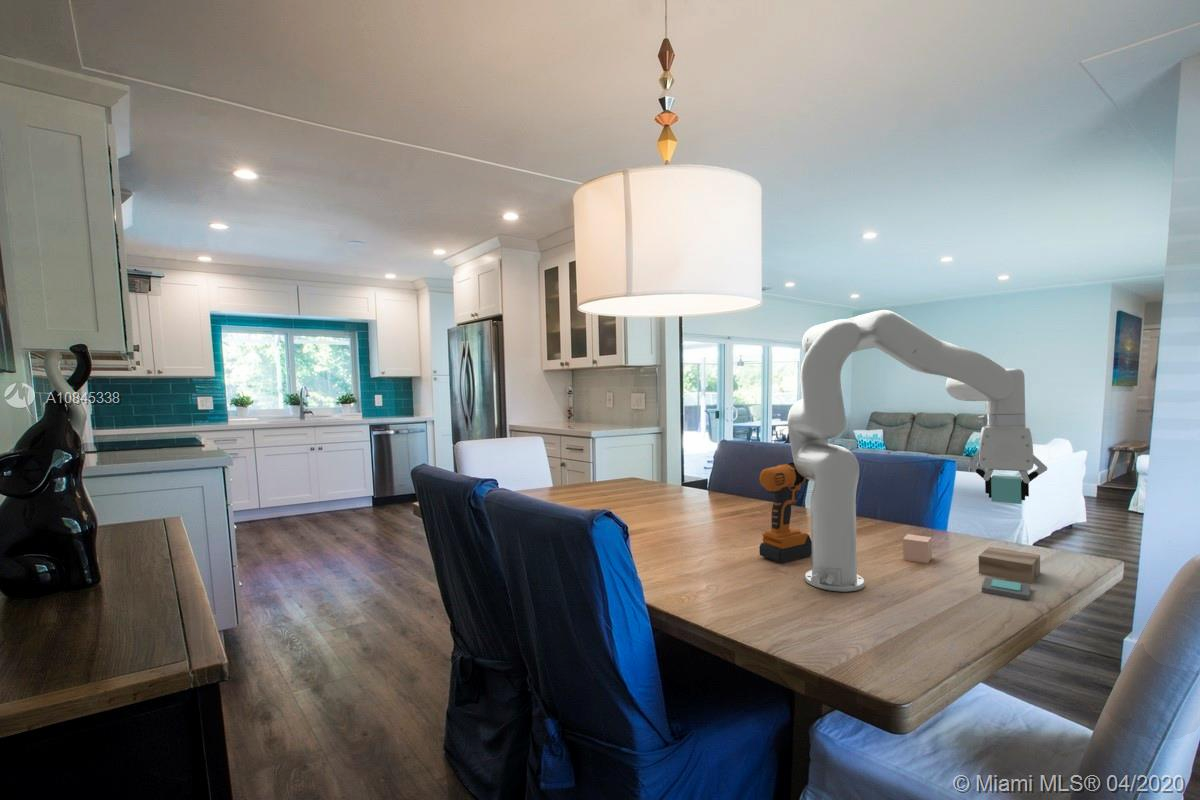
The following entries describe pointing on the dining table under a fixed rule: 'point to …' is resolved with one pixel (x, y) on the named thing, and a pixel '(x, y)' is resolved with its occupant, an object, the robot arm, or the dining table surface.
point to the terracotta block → (917, 548)
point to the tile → (1006, 588)
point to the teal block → (1006, 489)
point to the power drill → (783, 516)
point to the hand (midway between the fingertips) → (1006, 497)
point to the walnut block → (1009, 564)
